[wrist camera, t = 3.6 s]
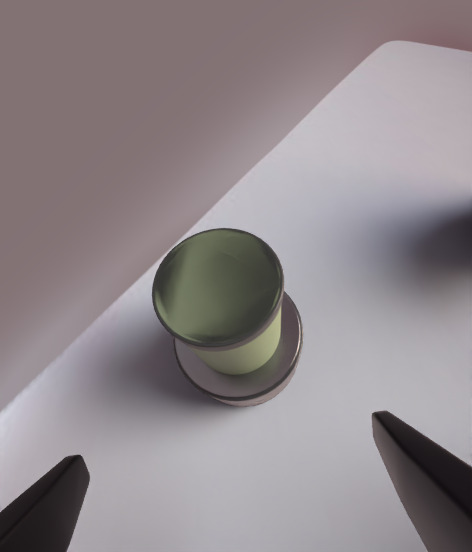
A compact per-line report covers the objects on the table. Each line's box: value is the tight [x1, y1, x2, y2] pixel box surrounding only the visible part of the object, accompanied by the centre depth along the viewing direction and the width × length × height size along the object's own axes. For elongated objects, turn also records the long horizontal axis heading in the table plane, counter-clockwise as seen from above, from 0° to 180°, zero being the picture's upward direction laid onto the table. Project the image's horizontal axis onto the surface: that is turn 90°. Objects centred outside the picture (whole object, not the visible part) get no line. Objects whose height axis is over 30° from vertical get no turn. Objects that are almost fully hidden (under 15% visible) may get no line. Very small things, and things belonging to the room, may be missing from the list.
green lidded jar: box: [152, 228, 284, 375], centre depth 16 cm, size 6×6×7 cm
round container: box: [174, 291, 303, 407], centre depth 21 cm, size 9×9×4 cm
